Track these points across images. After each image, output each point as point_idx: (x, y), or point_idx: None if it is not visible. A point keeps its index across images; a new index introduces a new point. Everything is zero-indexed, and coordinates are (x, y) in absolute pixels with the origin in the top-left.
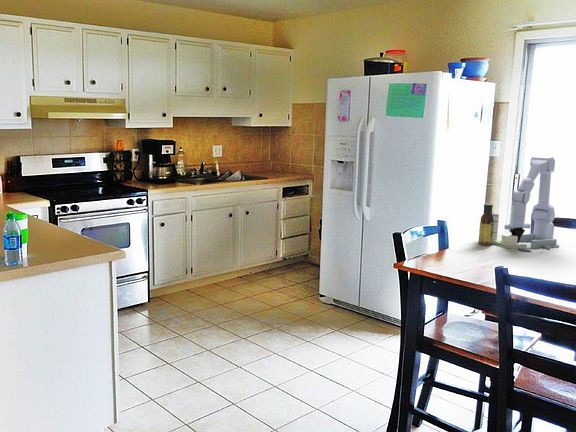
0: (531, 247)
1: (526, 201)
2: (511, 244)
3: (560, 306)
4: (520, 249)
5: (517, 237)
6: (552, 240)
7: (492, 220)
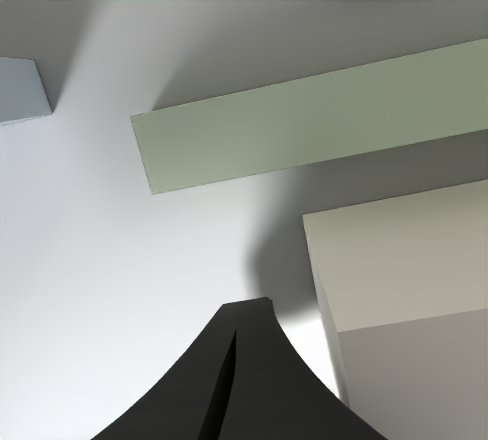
0: (41, 94)
1: None
2: (476, 200)
3: None
4: None
5: (343, 308)
6: None
7: None
